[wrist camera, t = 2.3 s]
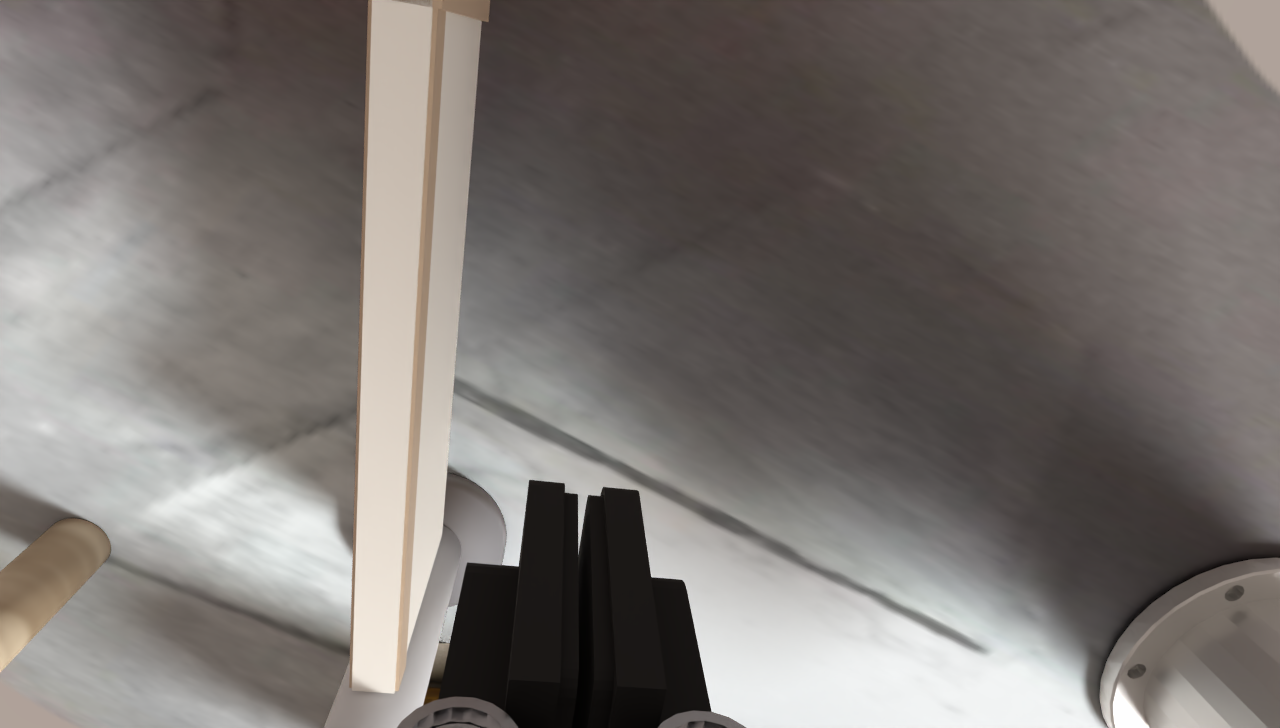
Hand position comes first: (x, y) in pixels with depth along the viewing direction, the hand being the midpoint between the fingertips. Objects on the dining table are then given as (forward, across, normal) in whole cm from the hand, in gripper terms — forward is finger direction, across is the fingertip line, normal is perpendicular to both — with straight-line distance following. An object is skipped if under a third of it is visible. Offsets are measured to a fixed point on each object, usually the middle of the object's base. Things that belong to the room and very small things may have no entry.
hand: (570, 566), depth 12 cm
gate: (+17, +4, +2) cm, 17 cm away
